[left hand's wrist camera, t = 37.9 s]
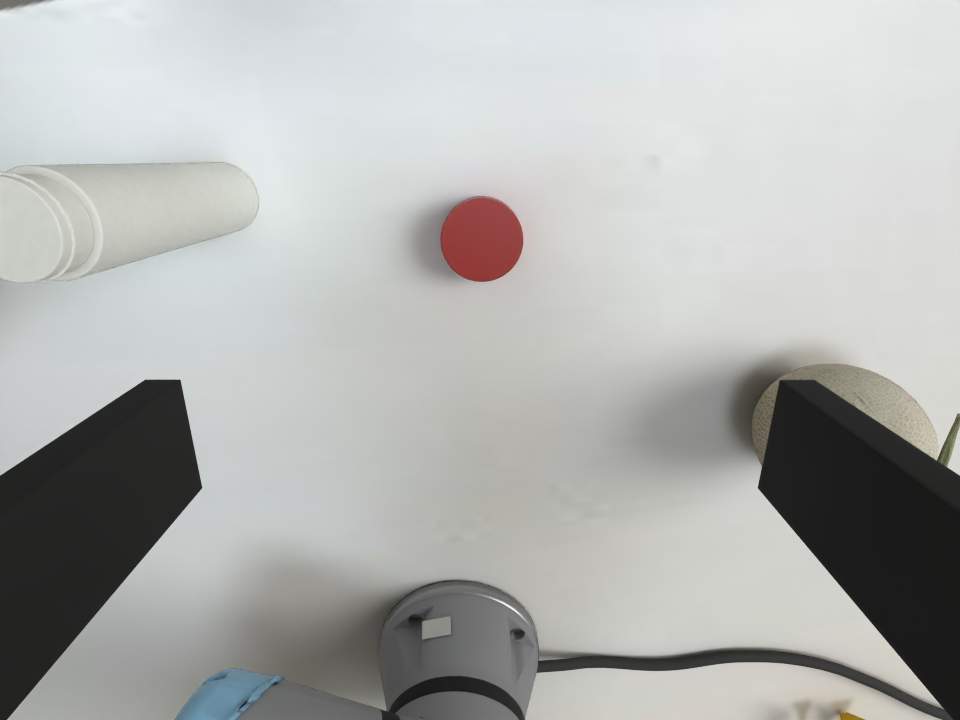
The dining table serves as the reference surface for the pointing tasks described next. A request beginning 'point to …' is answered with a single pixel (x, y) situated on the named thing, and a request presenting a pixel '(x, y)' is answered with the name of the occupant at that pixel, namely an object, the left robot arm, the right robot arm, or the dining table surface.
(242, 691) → the left robot arm
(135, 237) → the white cylinder
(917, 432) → the fruit
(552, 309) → the dining table surface
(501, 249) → the lid
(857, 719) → the toy
